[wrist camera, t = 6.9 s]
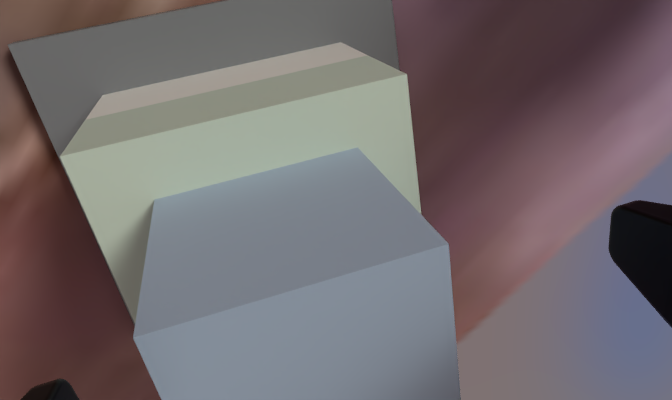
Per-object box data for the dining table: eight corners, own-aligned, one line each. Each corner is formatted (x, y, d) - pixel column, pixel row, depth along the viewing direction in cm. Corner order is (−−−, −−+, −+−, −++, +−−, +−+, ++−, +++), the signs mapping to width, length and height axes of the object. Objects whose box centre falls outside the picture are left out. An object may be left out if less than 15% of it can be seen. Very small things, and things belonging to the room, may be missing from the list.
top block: (357, 147, 13) (449, 244, 8) (382, 305, 15) (464, 447, 10) (154, 199, 12) (133, 337, 7) (213, 357, 14) (223, 536, 10)
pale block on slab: (382, -32, 17) (479, -33, 11) (415, 257, 23) (492, 356, 17) (13, 42, 15) (-93, 86, 10) (145, 338, 21) (128, 481, 15)
